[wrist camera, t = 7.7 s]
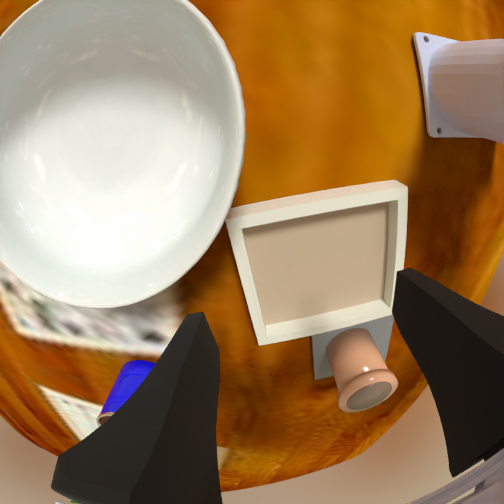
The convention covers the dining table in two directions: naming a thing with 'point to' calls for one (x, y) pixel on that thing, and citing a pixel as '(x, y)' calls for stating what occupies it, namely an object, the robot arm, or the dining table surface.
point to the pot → (359, 371)
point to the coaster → (376, 327)
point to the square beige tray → (320, 258)
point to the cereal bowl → (114, 146)
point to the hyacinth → (124, 388)
